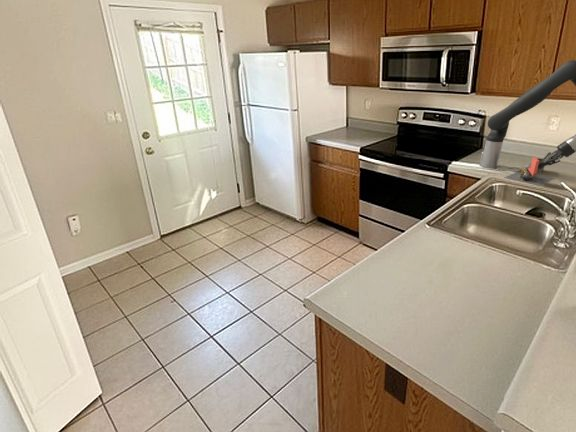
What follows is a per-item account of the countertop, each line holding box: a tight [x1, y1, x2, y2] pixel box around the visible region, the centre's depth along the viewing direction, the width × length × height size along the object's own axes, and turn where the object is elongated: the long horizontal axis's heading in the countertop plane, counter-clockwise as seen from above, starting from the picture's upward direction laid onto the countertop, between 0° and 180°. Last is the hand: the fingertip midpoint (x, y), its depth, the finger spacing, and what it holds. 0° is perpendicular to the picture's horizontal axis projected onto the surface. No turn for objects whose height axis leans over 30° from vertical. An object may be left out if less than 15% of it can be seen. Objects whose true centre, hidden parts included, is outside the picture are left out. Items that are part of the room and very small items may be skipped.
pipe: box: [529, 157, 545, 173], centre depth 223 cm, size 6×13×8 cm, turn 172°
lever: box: [524, 156, 539, 176], centre depth 202 cm, size 16×4×8 cm, turn 159°
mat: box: [503, 170, 555, 187], centre depth 210 cm, size 19×21×1 cm
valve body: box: [520, 167, 534, 181], centre depth 210 cm, size 6×16×5 cm, turn 149°
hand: (537, 167), depth 197 cm, fingers closed
